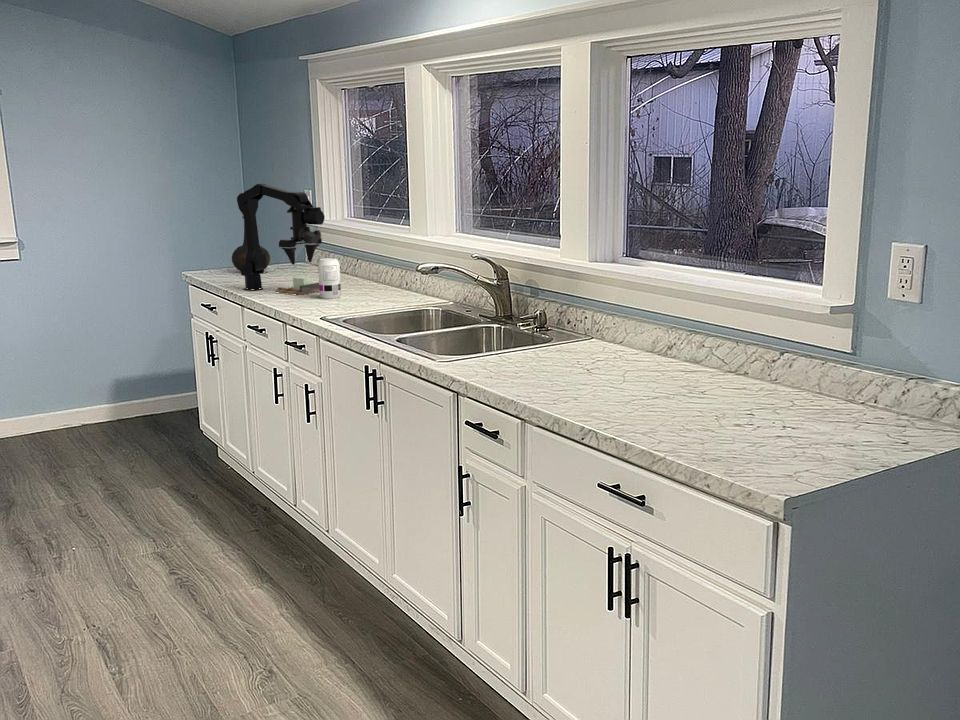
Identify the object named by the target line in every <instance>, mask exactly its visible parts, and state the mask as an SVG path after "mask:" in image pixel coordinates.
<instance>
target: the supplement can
mask: <svg viewBox="0 0 960 720" xmlns="http://www.w3.org/2000/svg"><path fill="white" fill-rule="evenodd" d="M317 267H318V269H317V271H318V272H317V273H318V283H319V291H320V292H319V297H320V298H321V299H322V298H324V299H323V300H336V298H337V299H340V298H339V297H341V296H342V287H341V286H342V285H341V270H340V269H341V267H340V262H339V260H338V258H336V257H335V258H334V257H332V258H331V257H330V258H328V257H327V258H320V259H319V260H318V263H317Z"/></svg>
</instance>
